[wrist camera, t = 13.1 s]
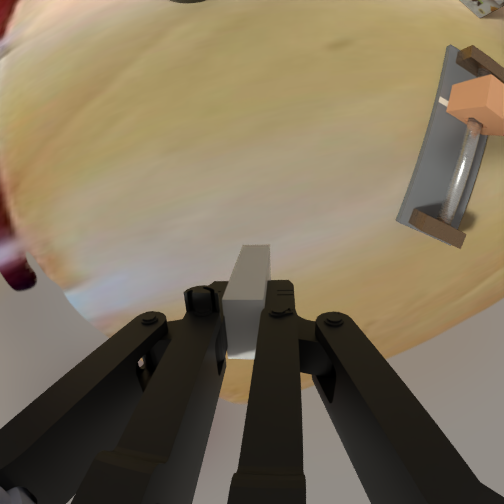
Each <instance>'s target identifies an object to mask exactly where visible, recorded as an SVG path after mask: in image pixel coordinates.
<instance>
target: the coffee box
mask: <svg viewBox="0 0 504 504" xmlns="http://www.w3.org/2000/svg"><path fill="white" fill-rule="evenodd" d="M460 1H461V2H462V3H463V4H464V5H466V6H467V7H468V8H469V9H470V10H471V11H472V12H473V13H474V14H476V15H477V16H478V17H479V18H482V17H484V16H486V15H487V14H489V13H491V12H493V11H495V10H497V9H499V8H501V7H503V6H504V0H460Z"/></svg>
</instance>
